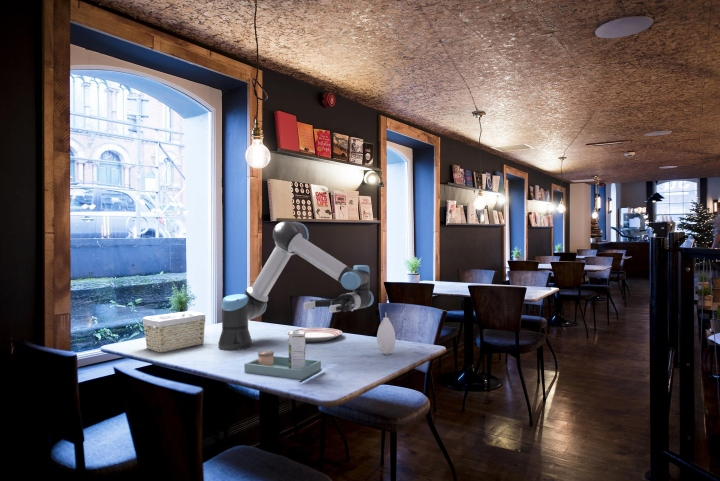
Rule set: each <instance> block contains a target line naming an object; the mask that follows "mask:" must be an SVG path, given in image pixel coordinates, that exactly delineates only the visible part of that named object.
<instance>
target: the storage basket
mask: <svg viewBox="0 0 720 481" xmlns="http://www.w3.org/2000/svg"><path fill="white" fill-rule="evenodd" d="M205 324H206V314H205V313H204V312H203V313H202V312H197V311H191V310H186V311H180V312H172V313H165V314H158V315H157V314H156V315H151V316H150V315H148V316H144V317H142V326H143V330H144V337H145V339H144V340H145V342H146V343H145V344H146V345H145V346H146V349H148V350H150V349H151V350H152V351H153V350H154V352H157V353H166V352H170V351H177V350H180V349H185V348H190V347H194V346H198V345H202V344H204V343H205V342H204V341H205V326H206V325H205Z"/></svg>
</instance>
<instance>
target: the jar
mask: <svg viewBox="0 0 720 481" xmlns="http://www.w3.org/2000/svg"><path fill="white" fill-rule="evenodd" d="M257 356H258V358H257V359H258V362H259V365H264V366H273V367H274V364H273V356H275V352H274V351H273V350H261V351H258V352H257Z"/></svg>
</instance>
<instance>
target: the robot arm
mask: <svg viewBox="0 0 720 481" xmlns="http://www.w3.org/2000/svg"><path fill="white" fill-rule="evenodd" d="M309 234H310V233H309V229H308V228H307V226H306V225H305V224H303V223H302V222H298V221H288V220H287V221H285V220H284V221H280V222H278V223H277V224H276V225H275V226H274V228H273V231H272V238H273V240H274V244H275V246H274V248H273V250H272V252H271V254H270V255H269V257H268V259H267V261H266V262H265V264H264V266H263V267H262V269H261V270H260V273H259V274H258V276H257V278H256V279H255V281H254V282H253V284H252V286H249V287H247V288H246V290H245V291H244V293H235V294H230V295H226V296H225V297H223V299H222V301H221V327H222V328H221V333H220V337H219V341H218V345H217V347H218V348H219V349H221V350H228V351H229V350H230V351H233V350H235V351H237V350H243V349H248V348H250V347H252V346H253V340H252V337H251V333H250V330H249V320H253V319H256V318H258V317H261V316H262V315H263V314H264V313H265V312H266V309H267V308H268V304H267V302H268V301H269V293H270V292H271V289H272V288H273V287H274V285H275V283H276V282H277V280H278V278H279V276H280V275H281V273H282V271H283V270H284V268H285V267H286V266H287V263H288V262H289V260H290V258H291V257H292V256H294V255H298V256H299V257H301V258H302V259H304V260H305V261H307V262H308V263H310V264H311V265H313V266H314V267H316V268H317V269H319V270H321V271H322V272H324V273H325V274H327V275H329V276H330V277H331V278H333V279H334V280H335V281H338V282H339V283H340V284H341V286H342V287H343V288H344V289H346V290H350V291H352V292H349V293H348V292H347V293H342V294H340V295H338V297H337V298H333V299H331V298H328V299H327V298H326V299H314V300H313V299H311V300H310V301H306V302H303V310H309V309H310V310H311V309H312V310H315V308H326V307H328V308H329V311H328V312H329V314H332V313H339V312H344V313H346V312H349V311H350V312H354V310H359V309H366V308H367V307H370V306H371V305H373V303H374V301H375V300H374V299H375V298H374V295H373V292H372V291H370V280H371V279H370V277H371V276H370V274H371V273H370V272H371V270H370V266H369V265H363V264H362V265H361V264H358V265H356V264H355V265H353V268H350V267H349V266H347V265H346V264H344V263H343V262H341V261H340V260H339V259H337V258H335V257H334V256H332V255H331V254H329V253H328V252H326V251H324V250H323V249H321V248H320V247H318V246H316V245H315V244H313V243H312V242H310V241H309V236H310V235H309Z"/></svg>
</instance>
